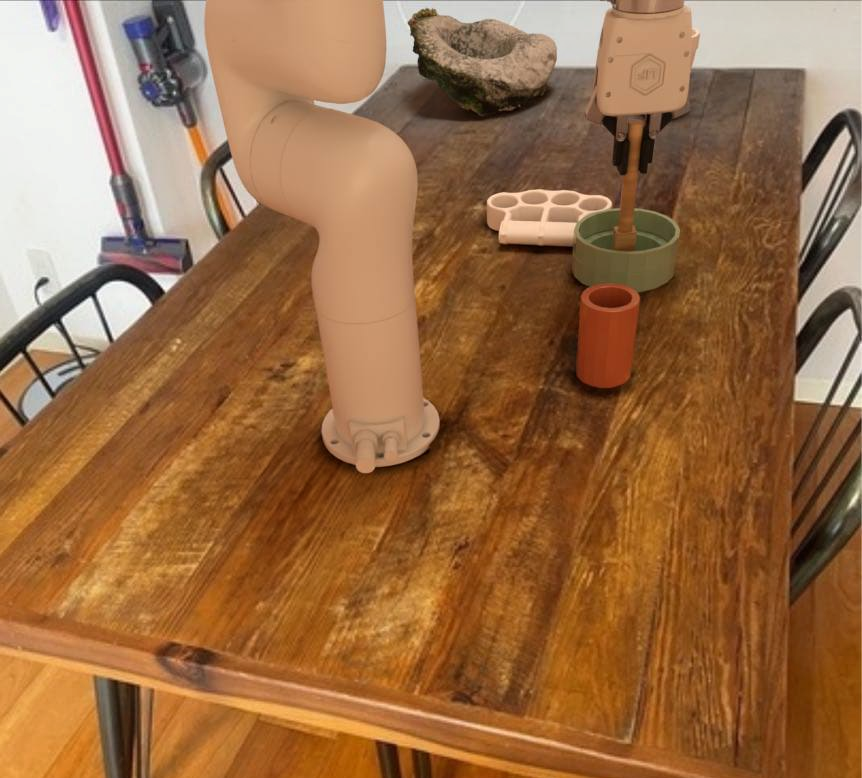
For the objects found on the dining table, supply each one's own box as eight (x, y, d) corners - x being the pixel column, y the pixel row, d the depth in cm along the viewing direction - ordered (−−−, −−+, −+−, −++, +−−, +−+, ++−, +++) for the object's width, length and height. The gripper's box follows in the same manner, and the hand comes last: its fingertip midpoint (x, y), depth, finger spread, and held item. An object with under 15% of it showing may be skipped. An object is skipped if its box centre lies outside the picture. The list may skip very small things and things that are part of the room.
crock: (635, 391, 94) (645, 309, 87) (580, 395, 94) (586, 313, 87) (624, 361, 98) (633, 281, 91) (572, 365, 98) (577, 285, 91)
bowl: (684, 293, 109) (691, 248, 104) (580, 301, 109) (583, 257, 105) (660, 247, 118) (666, 204, 114) (565, 254, 118) (567, 211, 114)
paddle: (633, 261, 111) (648, 124, 99) (613, 263, 111) (626, 125, 99) (630, 254, 113) (645, 118, 101) (610, 256, 113) (623, 119, 101)
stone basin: (386, 42, 173) (411, -40, 163) (516, 90, 184) (548, 16, 174) (403, 105, 154) (433, 18, 144) (546, 154, 165) (584, 76, 155)
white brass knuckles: (476, 249, 121) (493, 205, 131) (605, 254, 117) (613, 209, 128) (475, 226, 119) (493, 183, 129) (607, 231, 115) (615, 187, 125)
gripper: (580, 9, 89) (571, 187, 101) (733, -3, 88) (704, 177, 101) (569, -8, 94) (561, 163, 107) (713, -19, 94) (688, 154, 107)
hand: (631, 169), depth 104 cm, fingers closed on paddle, 1 cm apart
